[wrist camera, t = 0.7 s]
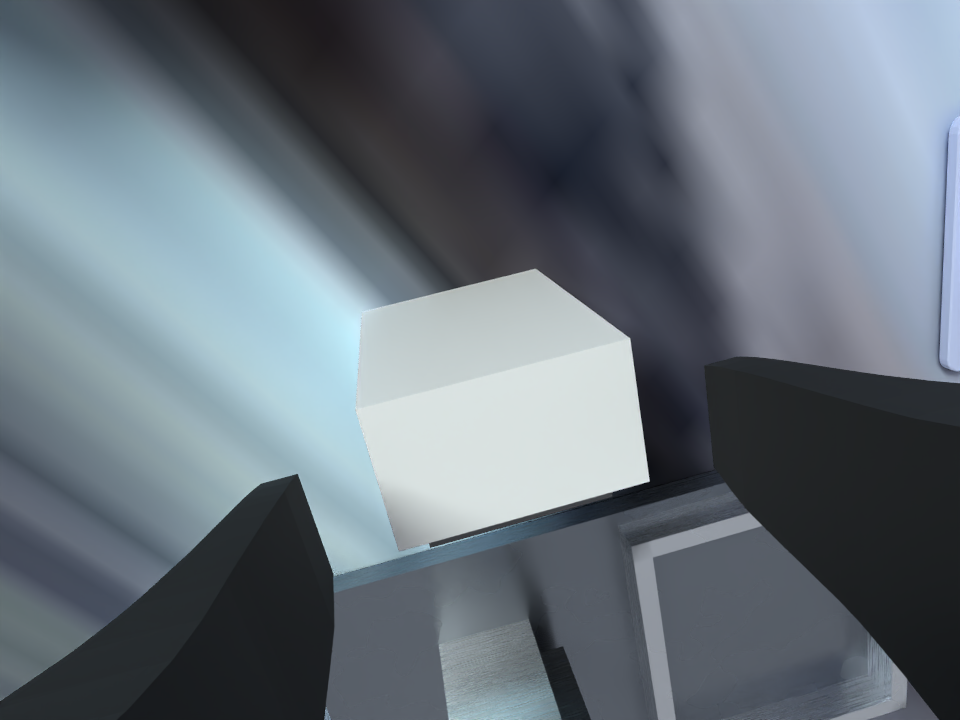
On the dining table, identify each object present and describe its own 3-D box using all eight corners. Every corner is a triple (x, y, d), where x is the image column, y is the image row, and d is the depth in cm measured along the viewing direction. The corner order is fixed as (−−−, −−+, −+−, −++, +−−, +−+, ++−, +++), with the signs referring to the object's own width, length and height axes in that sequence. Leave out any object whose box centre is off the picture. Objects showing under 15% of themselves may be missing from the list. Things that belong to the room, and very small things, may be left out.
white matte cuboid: (361, 311, 18) (355, 409, 11) (535, 268, 18) (630, 338, 11) (396, 433, 19) (409, 585, 12) (558, 390, 19) (653, 515, 13)
